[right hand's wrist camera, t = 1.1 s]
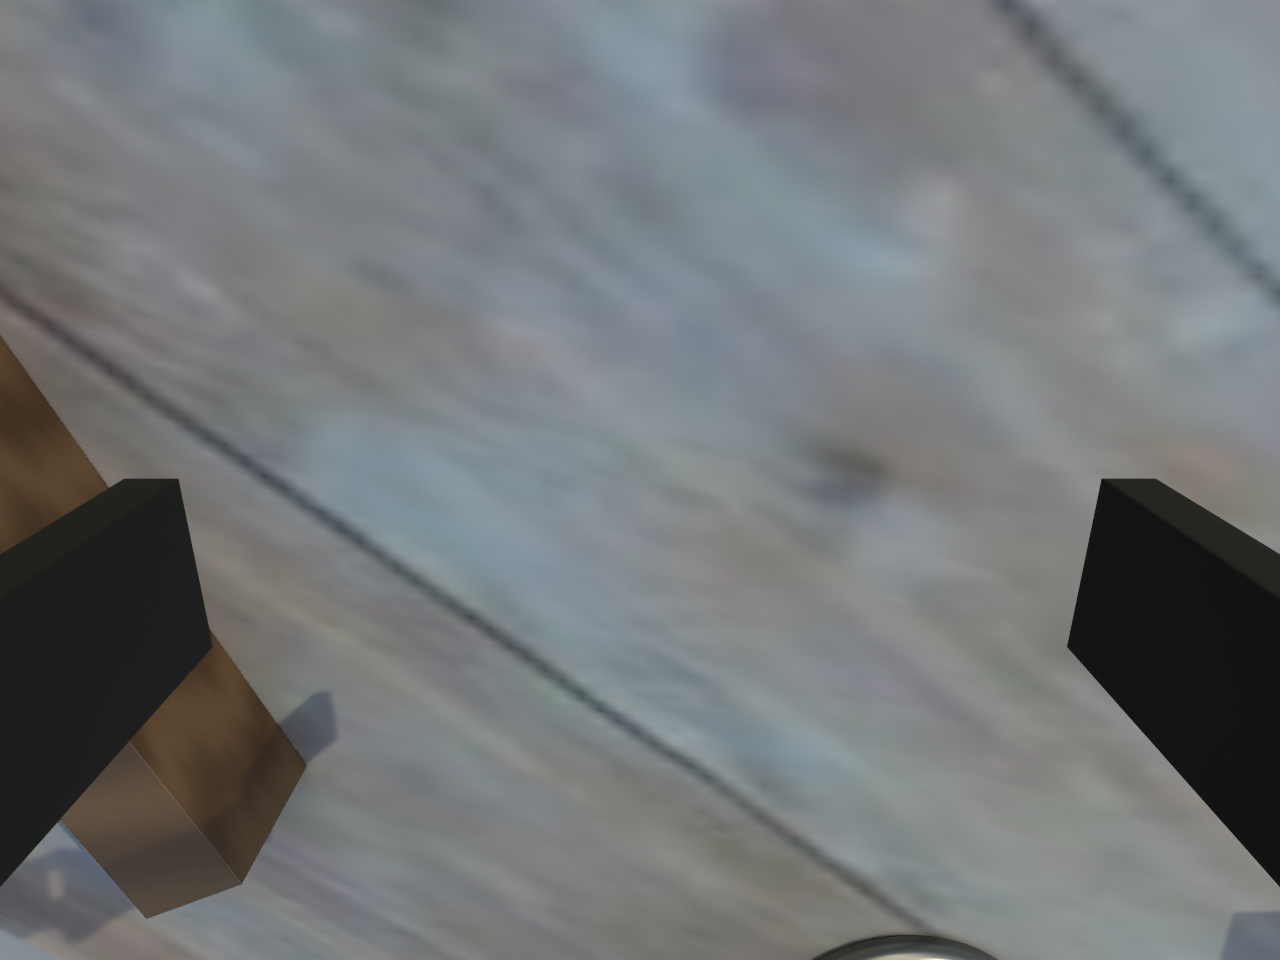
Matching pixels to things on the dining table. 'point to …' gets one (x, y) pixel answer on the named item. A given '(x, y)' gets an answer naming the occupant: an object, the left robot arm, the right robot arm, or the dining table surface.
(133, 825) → the post
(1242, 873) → the dining table surface
